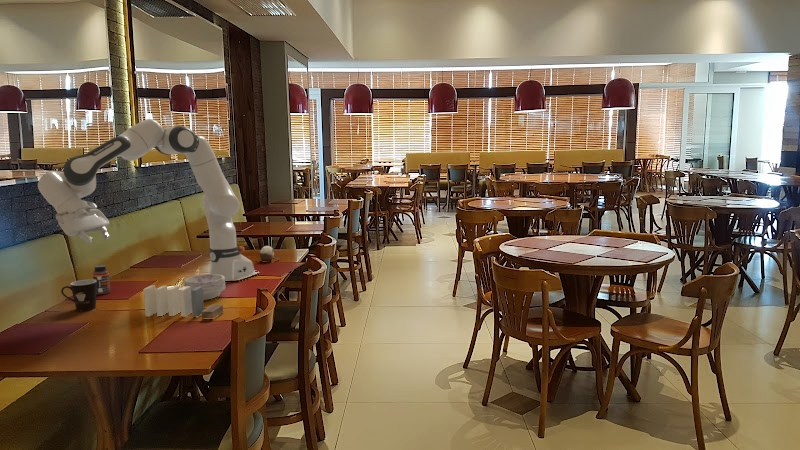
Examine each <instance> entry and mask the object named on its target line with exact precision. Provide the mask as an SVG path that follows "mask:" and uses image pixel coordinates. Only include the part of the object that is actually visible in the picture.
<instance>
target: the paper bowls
mask: <svg viewBox="0 0 800 450" xmlns="http://www.w3.org/2000/svg"><path fill="white" fill-rule="evenodd" d="M183 283H184V287H186V286H190V287H191V290H193V289H195V288H196V287H202V289H203V301H207V300H206V299H211V300H213V299H212V298H215V297H217V296H218V297H219V296H220V295H221V294H222V292H224V291H225V290H226V282H225V277H224V276H223V275H217V274H210V273H209V274H198V275H193V276H190V277H186V278H184V281H183ZM218 297H217V298H218ZM191 298H192V295H191ZM215 299H216V298H215Z"/></svg>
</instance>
